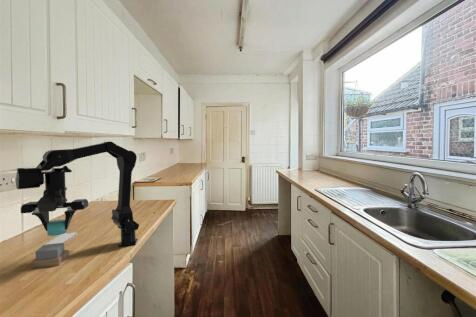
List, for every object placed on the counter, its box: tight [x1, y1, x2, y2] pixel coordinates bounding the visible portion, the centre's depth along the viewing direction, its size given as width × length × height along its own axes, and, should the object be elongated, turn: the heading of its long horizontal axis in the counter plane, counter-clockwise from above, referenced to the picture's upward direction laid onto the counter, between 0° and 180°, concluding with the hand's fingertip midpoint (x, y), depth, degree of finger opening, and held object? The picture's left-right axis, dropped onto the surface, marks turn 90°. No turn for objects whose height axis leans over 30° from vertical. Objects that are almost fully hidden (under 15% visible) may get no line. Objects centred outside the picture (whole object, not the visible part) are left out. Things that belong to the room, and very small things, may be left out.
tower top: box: [35, 243, 65, 260], centre depth 91 cm, size 6×6×3 cm
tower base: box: [31, 249, 70, 269], centre depth 92 cm, size 8×8×3 cm
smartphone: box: [44, 231, 79, 245], centre depth 113 cm, size 7×1×15 cm
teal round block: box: [46, 219, 68, 237], centre depth 89 cm, size 6×6×4 cm
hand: (57, 230), depth 89 cm, fingers closed on teal round block, 5 cm apart
